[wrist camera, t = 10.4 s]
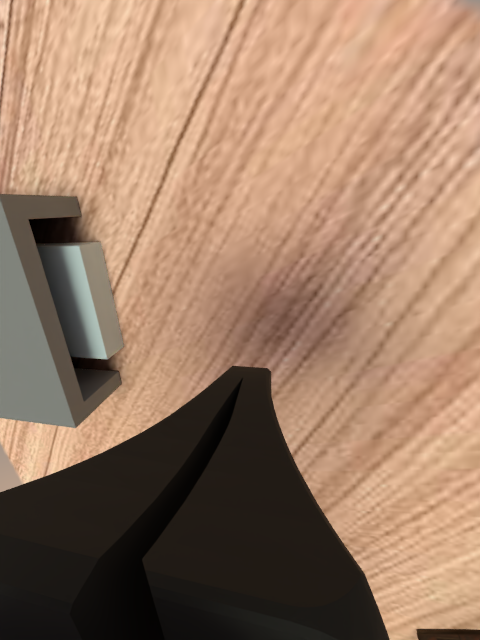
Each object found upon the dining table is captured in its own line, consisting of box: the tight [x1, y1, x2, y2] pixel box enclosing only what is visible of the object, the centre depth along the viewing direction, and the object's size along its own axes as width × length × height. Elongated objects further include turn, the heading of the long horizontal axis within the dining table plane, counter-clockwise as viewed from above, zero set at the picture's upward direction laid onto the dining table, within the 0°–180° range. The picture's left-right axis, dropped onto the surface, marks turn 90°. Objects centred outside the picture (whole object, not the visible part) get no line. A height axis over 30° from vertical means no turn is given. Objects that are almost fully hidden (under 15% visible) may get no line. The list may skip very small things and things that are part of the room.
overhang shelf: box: [0, 194, 121, 428], centre depth 20 cm, size 14×10×5 cm, turn 3°
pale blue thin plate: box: [36, 242, 124, 359], centre depth 21 cm, size 8×9×2 cm
